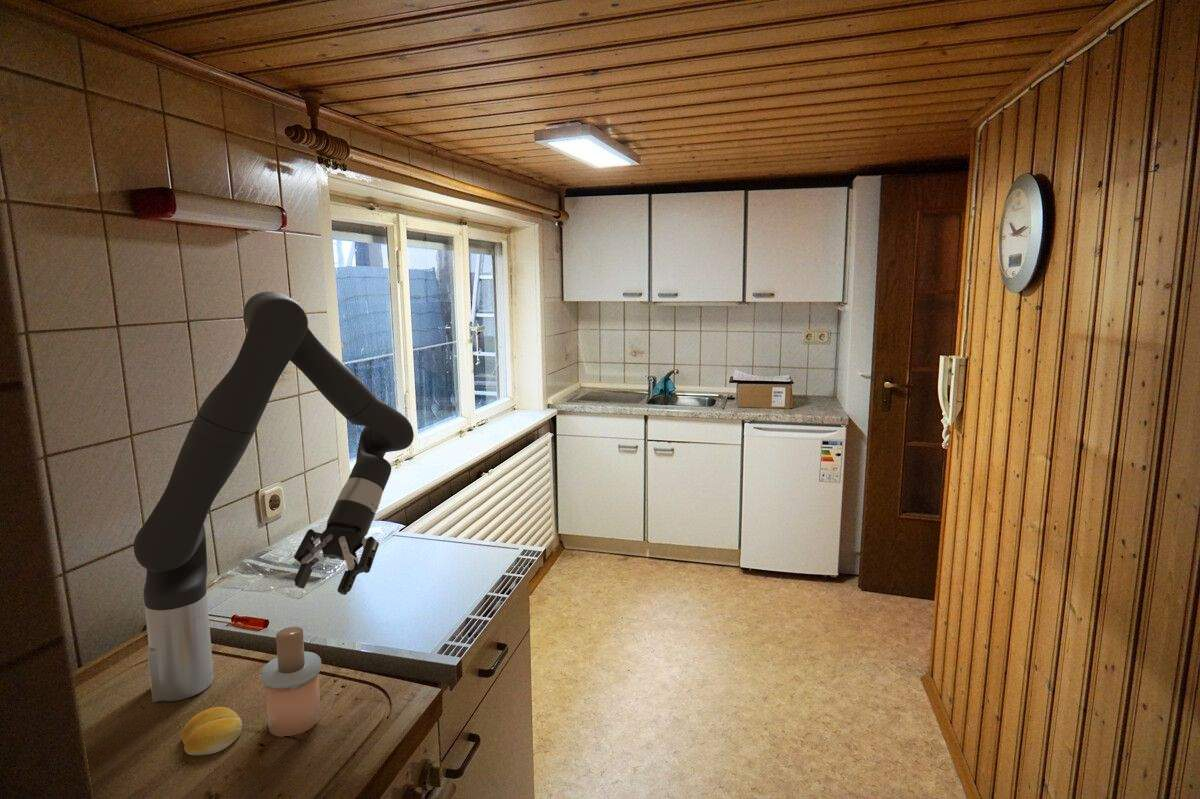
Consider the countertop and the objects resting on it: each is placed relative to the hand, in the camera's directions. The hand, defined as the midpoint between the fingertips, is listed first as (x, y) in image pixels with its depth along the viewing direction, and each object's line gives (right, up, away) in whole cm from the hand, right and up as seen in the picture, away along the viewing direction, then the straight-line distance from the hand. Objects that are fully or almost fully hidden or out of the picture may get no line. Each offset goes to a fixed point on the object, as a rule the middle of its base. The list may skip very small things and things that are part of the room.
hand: (320, 590), depth 112 cm
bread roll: (-14, -22, -9) cm, 27 cm away
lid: (-2, -13, -6) cm, 14 cm away
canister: (-2, -21, -5) cm, 21 cm away
